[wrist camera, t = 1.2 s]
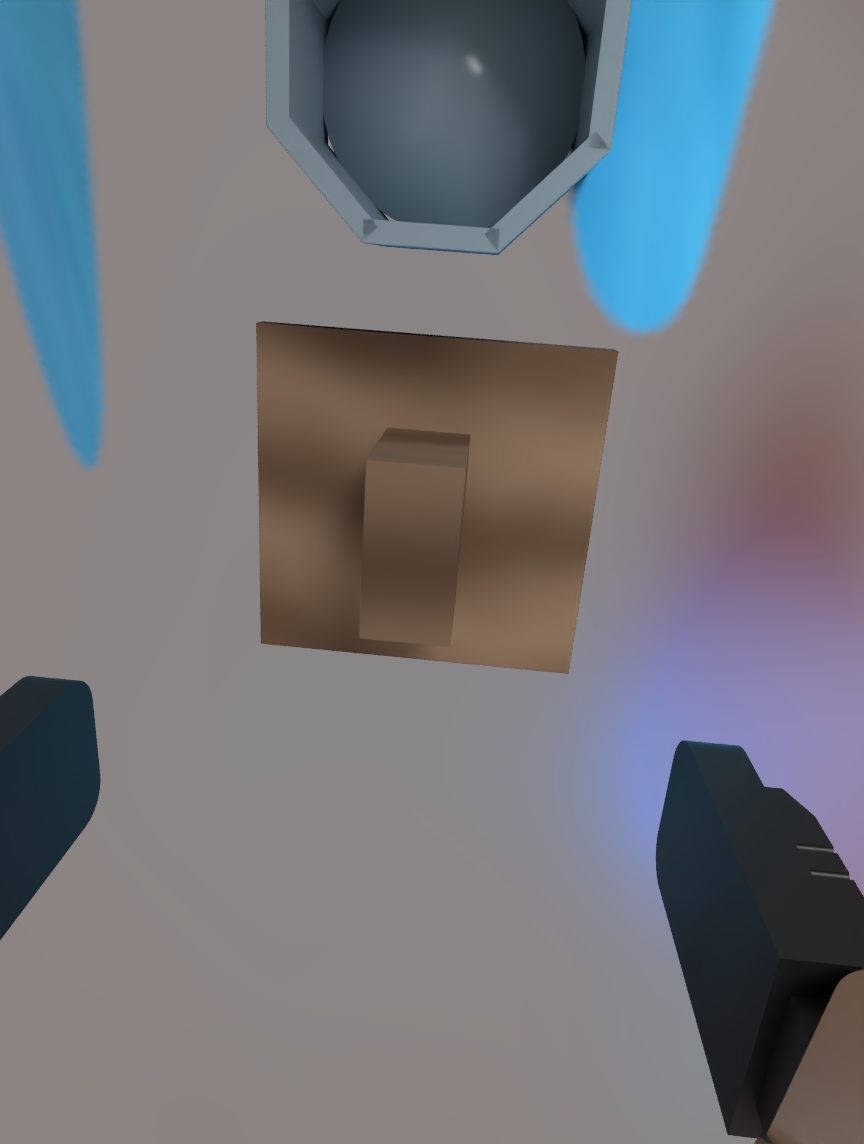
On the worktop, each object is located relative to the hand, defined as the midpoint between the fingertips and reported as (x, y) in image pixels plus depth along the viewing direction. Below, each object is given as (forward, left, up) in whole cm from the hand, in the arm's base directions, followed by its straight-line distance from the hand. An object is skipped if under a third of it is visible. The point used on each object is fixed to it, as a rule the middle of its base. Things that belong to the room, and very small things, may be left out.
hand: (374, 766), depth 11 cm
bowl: (-11, -1, -19) cm, 22 cm away
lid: (+2, -1, -20) cm, 20 cm away
